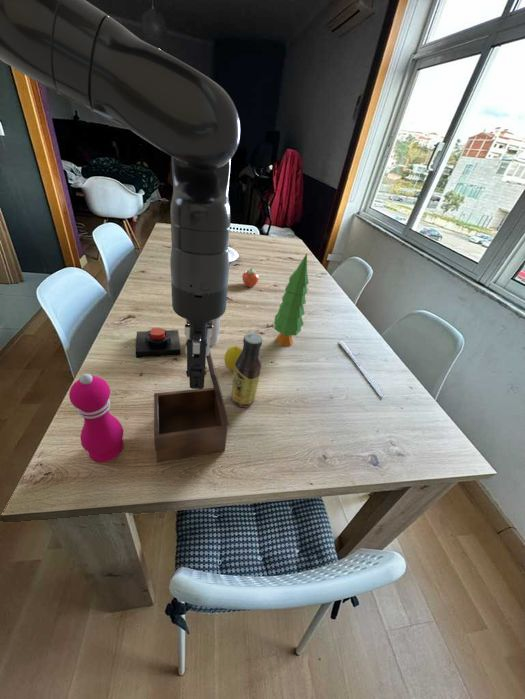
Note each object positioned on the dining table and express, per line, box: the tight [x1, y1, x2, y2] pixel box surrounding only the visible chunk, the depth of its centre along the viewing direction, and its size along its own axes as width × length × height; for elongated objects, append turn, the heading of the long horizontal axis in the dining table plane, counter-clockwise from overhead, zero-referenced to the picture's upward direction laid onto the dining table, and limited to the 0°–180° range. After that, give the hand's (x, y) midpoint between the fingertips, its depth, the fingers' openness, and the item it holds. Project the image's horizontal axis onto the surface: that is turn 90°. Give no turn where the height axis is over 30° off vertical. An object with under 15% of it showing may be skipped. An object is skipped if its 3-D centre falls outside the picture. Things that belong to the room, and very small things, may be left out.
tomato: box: [241, 267, 260, 288], centre depth 128 cm, size 7×7×8 cm
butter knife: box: [338, 340, 384, 397], centre depth 93 cm, size 1×27×3 cm
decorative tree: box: [273, 253, 309, 347], centre depth 90 cm, size 10×9×30 cm
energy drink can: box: [210, 317, 221, 347], centre depth 88 cm, size 6×6×15 cm
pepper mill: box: [68, 373, 124, 463], centre depth 53 cm, size 7×7×20 cm
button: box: [150, 327, 166, 340], centre depth 85 cm, size 4×4×2 cm
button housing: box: [134, 329, 181, 359], centre depth 86 cm, size 12×10×4 cm
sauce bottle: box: [230, 332, 263, 408], centre depth 69 cm, size 7×6×20 cm
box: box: [153, 387, 228, 463], centre depth 62 cm, size 14×12×8 cm
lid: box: [206, 350, 230, 428], centre depth 57 cm, size 14×12×1 cm
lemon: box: [223, 345, 243, 371], centre depth 81 cm, size 6×6×8 cm
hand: (198, 369), depth 49 cm, fingers open, 8 cm apart
